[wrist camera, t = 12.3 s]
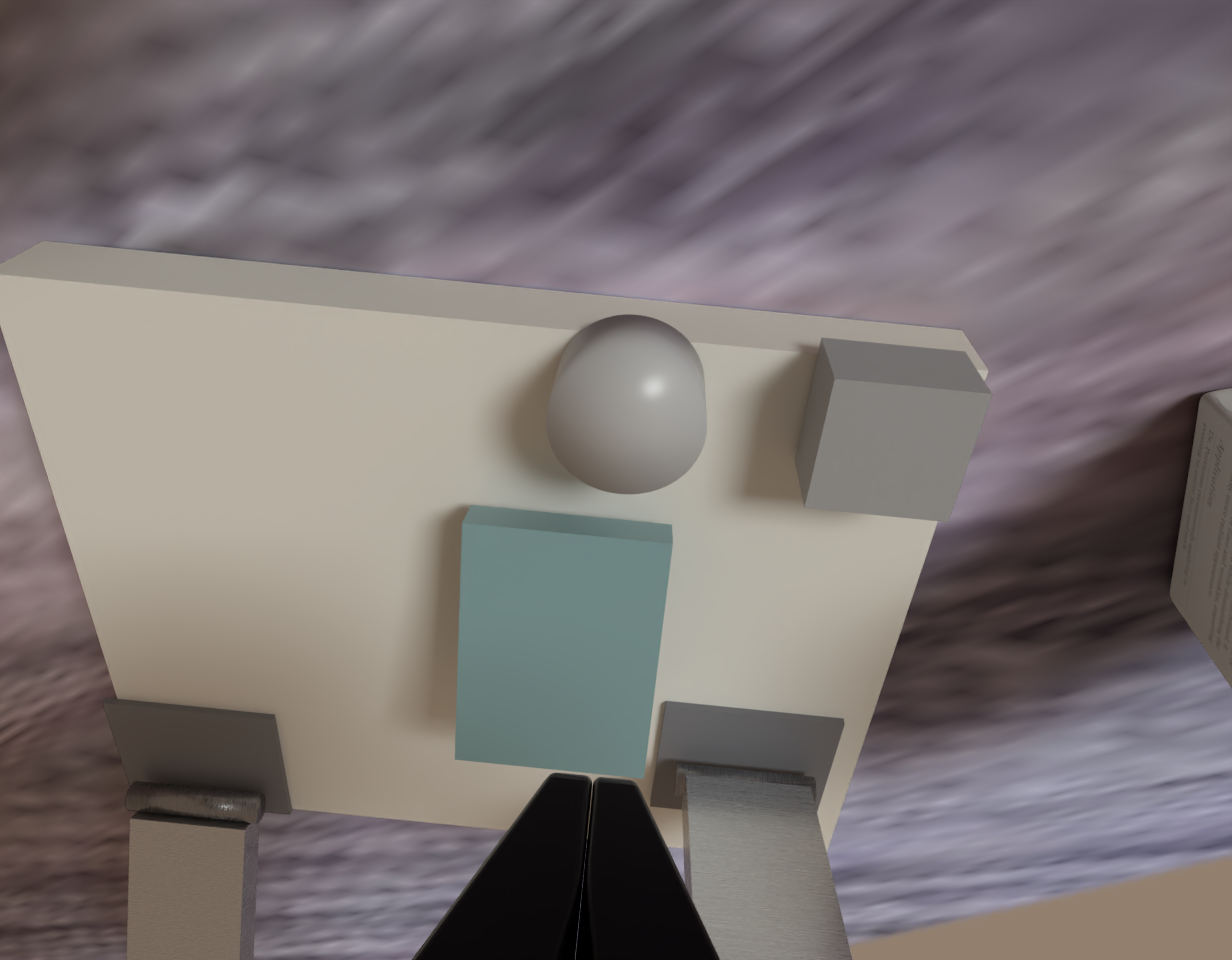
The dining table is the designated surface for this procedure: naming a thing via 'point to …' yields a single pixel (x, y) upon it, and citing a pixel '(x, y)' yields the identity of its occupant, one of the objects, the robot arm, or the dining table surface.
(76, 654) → the dining table surface
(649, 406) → the round button
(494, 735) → the pale teal flat block
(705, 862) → the grey black-tipped post
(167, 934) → the grey block with ball
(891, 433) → the square button
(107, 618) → the panel
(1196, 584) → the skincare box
